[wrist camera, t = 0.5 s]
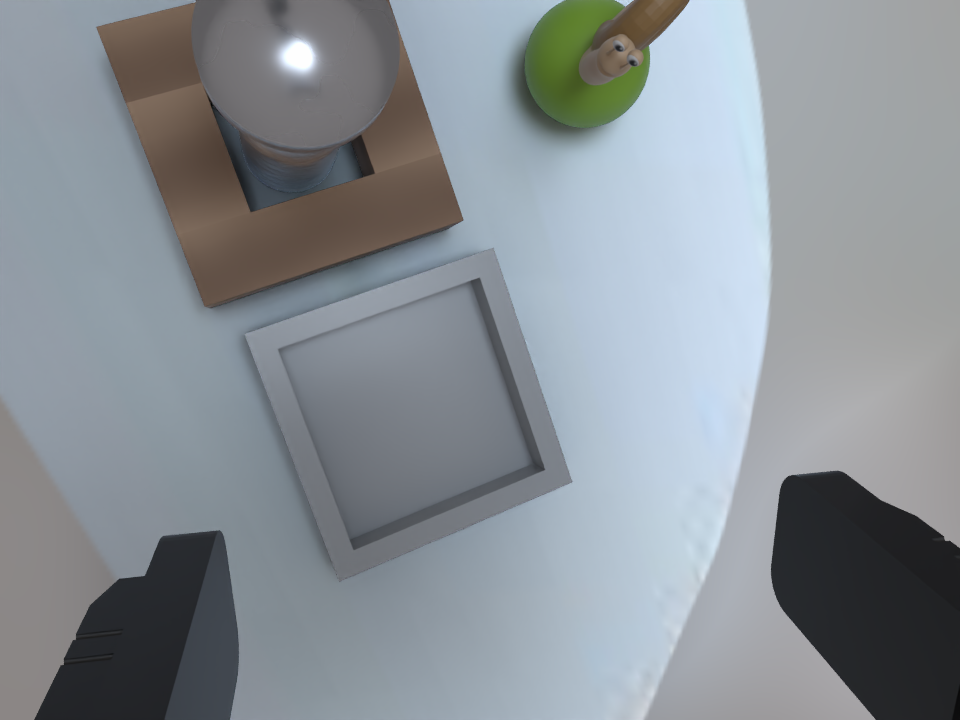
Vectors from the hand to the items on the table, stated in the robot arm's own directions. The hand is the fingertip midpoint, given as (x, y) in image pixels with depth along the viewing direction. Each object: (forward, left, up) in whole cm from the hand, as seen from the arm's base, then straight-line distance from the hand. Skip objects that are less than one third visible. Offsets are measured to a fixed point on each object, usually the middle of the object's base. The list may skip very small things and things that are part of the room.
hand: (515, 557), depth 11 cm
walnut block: (-11, +1, -25) cm, 28 cm away
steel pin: (-11, +1, -25) cm, 28 cm away
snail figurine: (-10, +14, -25) cm, 31 cm away
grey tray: (+1, +2, -25) cm, 25 cm away
